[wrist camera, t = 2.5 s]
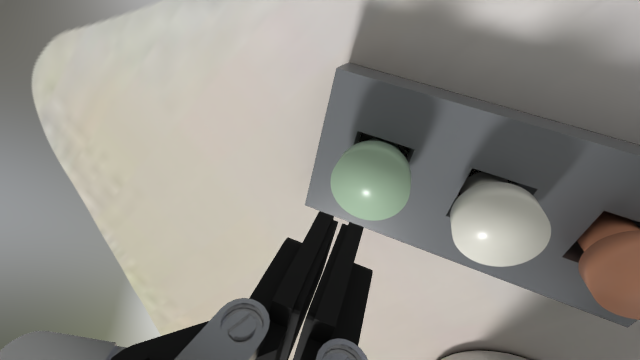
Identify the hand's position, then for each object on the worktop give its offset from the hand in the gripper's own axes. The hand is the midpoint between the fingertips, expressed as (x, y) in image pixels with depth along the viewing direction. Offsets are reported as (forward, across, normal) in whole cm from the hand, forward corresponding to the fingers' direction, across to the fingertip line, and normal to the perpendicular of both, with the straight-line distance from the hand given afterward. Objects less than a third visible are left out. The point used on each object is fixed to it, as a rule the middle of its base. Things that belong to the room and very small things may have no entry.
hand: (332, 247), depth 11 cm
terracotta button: (+10, -15, +1) cm, 18 cm away
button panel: (+12, -8, +1) cm, 14 cm away
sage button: (+11, -1, +1) cm, 11 cm away
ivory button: (+11, -8, +1) cm, 13 cm away
